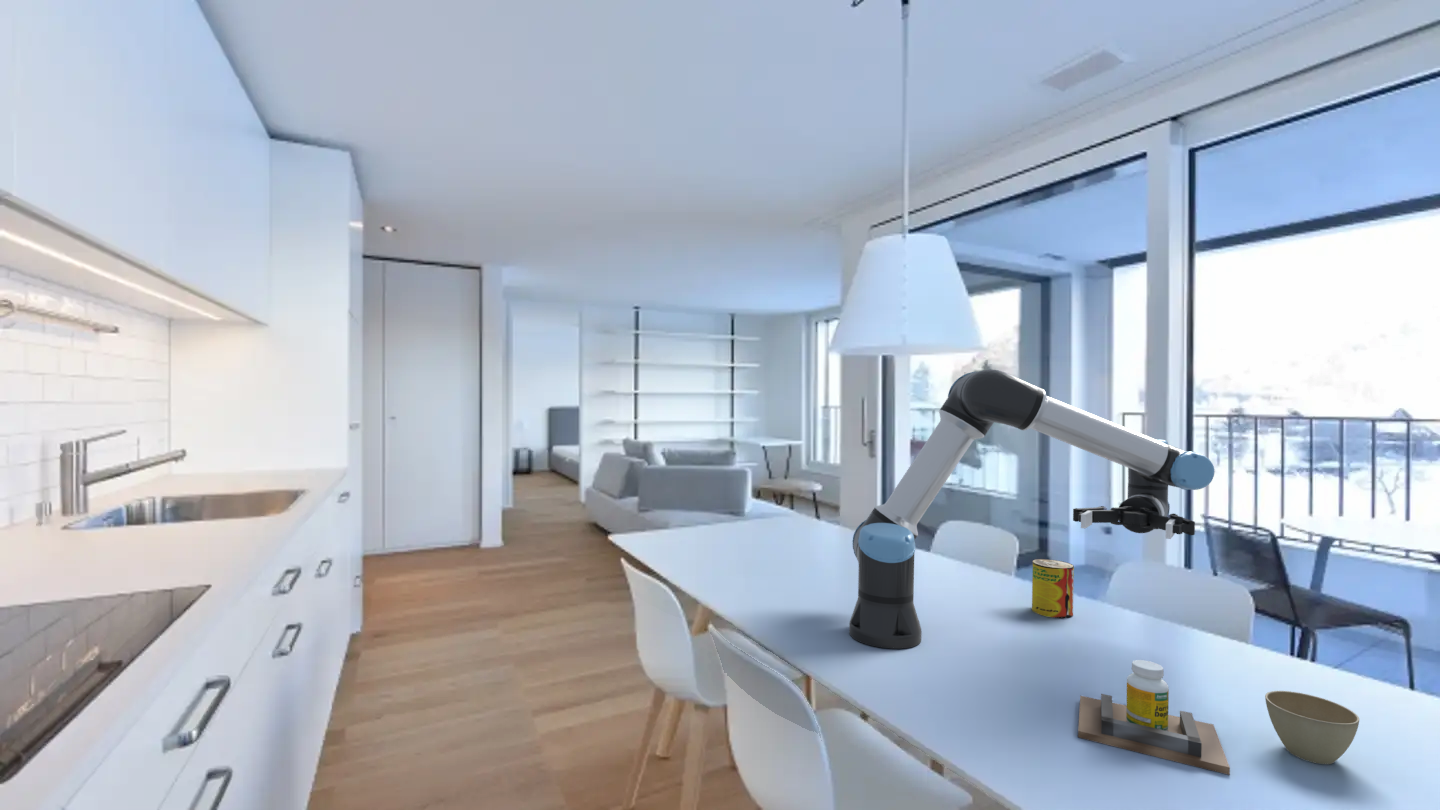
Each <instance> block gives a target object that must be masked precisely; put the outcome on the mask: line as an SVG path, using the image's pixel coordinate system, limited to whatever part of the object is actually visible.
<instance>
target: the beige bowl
mask: <svg viewBox="0 0 1440 810" xmlns="http://www.w3.org/2000/svg"><path fill="white" fill-rule="evenodd" d="M1264 698H1265V705H1266V709H1267V712H1268V716H1269V720H1270V721H1271V724H1272V726H1273V728H1274V730H1275V732H1276V734H1277V736H1278V738H1279V740H1280V741H1281V744H1282V745H1283V747H1284V748H1285V749H1286V751H1287V752H1289V753H1290V754H1291V755H1293V756H1294V757H1296V758H1299V759H1301V760H1304V761H1307V762H1310V763H1314V764H1318V765H1332V764H1334V763H1335V762H1336V761H1338V760H1339V759H1340V758H1341V757H1342V756H1344V755H1343V754H1345V753H1346V752H1347V750H1349V747H1350V746H1351V744H1352V743H1353V741H1354V740H1355V737H1356V735H1357V731H1358V728H1359V725H1360V724H1359V723H1360V716H1359V715H1358V714H1357V713H1356V712H1354V711H1353V710H1351V709H1349V708H1347V707H1346V706H1344V705H1342V704H1339V703H1337V702H1335V701H1332V700H1328V699H1326V698H1323V697H1320V696H1315V695H1312V694H1308V693H1303V692H1297V691H1291V690H1290V691H1289V690H1270V691H1269V692H1267V693H1265V696H1264Z"/></svg>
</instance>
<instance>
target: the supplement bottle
mask: <svg viewBox="0 0 1440 810" xmlns="http://www.w3.org/2000/svg"><path fill="white" fill-rule="evenodd" d="M1131 670H1132V671H1131V672H1132V673H1130V674H1129V675H1127V677H1126V706H1127V708H1126V720H1127V722H1130V723H1134V724H1138V725H1143V726H1147V727H1152V728H1156V729H1160V730H1165V731H1168V715H1169V694H1170V692H1169V690H1170V689H1169V687H1170V686H1169V685H1168V683H1167V682H1166V681H1165V680H1164V679H1163V678H1164V667H1163V666H1162V665H1161V664H1158V663H1156V662H1153V661H1150V660H1145V659H1144V660H1143V659H1135V660H1132V662H1131Z"/></svg>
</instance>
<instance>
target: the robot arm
mask: <svg viewBox="0 0 1440 810" xmlns="http://www.w3.org/2000/svg"><path fill="white" fill-rule="evenodd" d="M938 414H939V417H940V420H939V422H938V423H937V425H936V427H935V428H934V430H933V431H932V432H931V435H929V437H928V438H927V441H926V442H925V443H924V444H923V446H922V448H921V449H920V450H919V452H918V453H917V455H916V457H915V458H914V460H913V462H911V465H909V467H908V469H907V470H906V472H905V473H904V475H903V477H901V479H900V480H899V482H898V484H897V485H896V487H895V488H894V490H893V491H892V493H891V495H889V497H888V499H886V501H885V503H883V504H879V505H875V506H874V508H873V509H872V511H871V512H870V514H869V516H868V517H867V518H866V519H865V520H864V521H862V522H861V523H860V524H859V525H857V527H856V529H855V531H854V533H853V536H852V549H853V553H854V556H855V558H856V560H857V563H858V578H857V579H858V580H857V581H858V583H857V585H858V586H857V589H858V591H857V600H856V603H855V606H854V609H853V610H852V614H851V617H850V620H849V623H848V624H849V625H848V626H849V627H848V628H849V630H848V631H849V632H848V633H849V635H850V637H852V638H853V639H854V640H856V641H857V642H860V643H862V644H865V645H867V646H871V647H877V648H883V649H892V650H893V649H895V650H896V649H897V650H898V649H899V650H900V649H909V648H913V647H917V646H918V645H920V643H921V642H922V634H923V633H922V627H921V623H920V620H919V616H918V613H917V611H916V607H915V603H914V602H915V601H914V597H915V596H914V593H915V591H914V590H915V589H914V585H915V579H914V578H915V552H916V543H915V540H916V539H917V538H918V536H919V532H918V527H917V526H918V523H919V522H920V521H921V519H922V517H923V516H924V515H925V513H926V512H927V510H928V508H929V507H930V506H931V504H932V503H933V501H934V500H935V498H936V496H937V495H938V494H939V492H940V491H941V489H942V488H943V486H944V484H946V482H947V481H948V479H949V478H950V476H951V475H952V473H953V472H954V470H955V468H956V467H957V465H959V462H960V461H961V459H962V458H963V457H964V455H965V454H966V452H967V451H968V450H969V448H970V447H971V445H972V444H973V442H974V441H975V440H979V439H983V438H985V436H986V435H987V434H988V432H989V431H990V430H991V428H992V427H993V425H994V423H996V424H1002V425H1006V426H1008V427H1009V426H1010V427H1013V428H1016V429H1018V430H1021V431H1027V430H1033V431H1036V432H1039V433H1041V434H1043V435H1045V436H1048V437H1050V438H1053V439H1056V440H1058V441H1061V442H1063V443H1066V444H1068V445H1070V446H1073V447H1075V448H1078V449H1081V450H1083V451H1085V452H1088V453H1091V454H1093V455H1096V456H1098V457H1101V458H1103V459H1106V460H1108V461H1111V462H1113V463H1114V464H1115V463H1116V464H1117V465H1121V466H1123V467H1126V468H1127V475H1128V476H1127V477H1128V478H1127V479H1128V482H1127V498H1126V499H1125V500H1123V501H1122V502H1121V503H1120V504H1119V506H1118V507H1111V508H1110V509H1108V508H1107V507H1106V506H1104V505H1100V506H1097V507H1082V508H1081V507H1080V508H1077V507H1075V508H1072V509H1073V510H1072V511H1073V512H1072V521H1074V522H1077V523H1079V522H1080V529H1088V527H1090V526H1092V525H1093V523H1094V524H1098V523H1099V524H1108V523H1110V524H1111V525H1115V526H1122V527H1124V528H1125V529H1126V530H1128V531H1130V532H1133V533H1135V534H1147V533H1150V532H1152V531H1154V530H1162V531H1165V540H1166V539H1167V540H1171V539H1172V538H1173V537H1174V536H1175V534H1176V535H1182V534H1185V535H1189V536H1195V533H1196V530H1195V529H1196V522H1195V521H1193V520H1191V519H1188V518H1186V517H1183V516H1180V515H1178V514H1176V513H1170V508H1171V507H1170V503H1169V486H1170V487H1173V488H1175V487H1176V488H1179V489H1181V490H1184V491H1187V490H1191V491H1199V490H1201V489H1204V488H1206V487H1207V486H1209V485H1210V484H1211V483H1212V481H1213V479H1214V477H1215V467H1214V464H1213V462H1212V460H1211V459H1209V457H1207V456H1206V455H1204V454H1202V453H1198V452H1195V451H1188V450H1187V451H1186V450H1184V449H1181V448H1178V447H1176V446H1174V445H1171V444H1169V442H1168V441H1167V440H1166V439H1159V438H1158V439H1155V438H1153V437H1151V436H1149V435H1147V434H1143V433H1141V432H1139V431H1136V430H1134V429H1130V428H1128V427H1126V426H1123V425H1121V424H1118V423H1116V422H1113V421H1110V420H1108V419H1106V418H1103V417H1101V416H1098V415H1095V414H1093V413H1091V412H1088V411H1086V410H1083V409H1081V408H1078V407H1075V406H1073V405H1070V404H1068V403H1065V402H1063V401H1061V400H1058V399H1055V398H1053V397H1050V396H1048V395H1047V393H1046V391H1045V389H1044V388H1041V387H1039V386H1036V385H1034V384H1031V383H1029V382H1027V381H1025V380H1023V379H1020V378H1018V377H1017V376H1014V375H1012V374H1009V373H1007V372H1005V371H1002V370H998V369H992V368H991V369H983V370H979V371H972V372H968V373H965V374H963V375H961V376H960V377H958V378H957V379H956V380H955V381H954V382H953V383H952V385H951V386H950V389H949V391H948V393H947V398H946V400H945V401H944V403H943V404H942V405H941V407H940V409H939V411H938Z"/></svg>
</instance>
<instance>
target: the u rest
mask: <svg viewBox="0 0 1440 810" xmlns="http://www.w3.org/2000/svg"><path fill="white" fill-rule="evenodd" d="M1079 697H1080V698H1079V711H1078V712H1079V715H1078V727H1077V731H1078V732H1077V734H1078V735H1077V738H1078V737H1079V739H1084V740H1087V741H1091V742H1094V743H1099V744H1104V745H1107V746H1112V747H1116V748H1119V749H1123V750H1128V751H1130V752H1136V753H1138V754H1139V753H1140V754H1144V755H1148V756H1152V757H1155V758H1159V759H1164V760H1167V761H1171V762H1175V763H1176V762H1177V763H1179V764H1184V765H1188V766H1192V767H1196V768H1201V769H1204V770H1209V771H1212V772H1217V773H1220V774H1224V775H1229V776H1230V774H1231V770H1230V769H1231V767H1230V764H1229V761H1228V759H1227V756H1226V752H1225V751H1224V749H1223V745H1222V743H1221V741H1220V738H1219V734H1218V733H1217V730H1216V728H1215V725H1214V724H1212V723H1208V722H1204V721H1199V720H1195V719H1194V716H1193V713H1192V712H1191V711H1190V712H1189V711H1185V710H1179V716H1177V715H1176V716H1175V715H1171V714H1168V731H1165V730H1160V729H1156V728H1152V727H1147V726H1143V725H1138V724H1134V723H1130V722H1127V720H1126V708H1127V704H1125V705H1124V704H1121V703H1117V702H1113V696H1112V695H1108V694H1104V693H1101V695H1100V699H1098V698H1094V697H1089V696H1084V695H1080V696H1079Z"/></svg>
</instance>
